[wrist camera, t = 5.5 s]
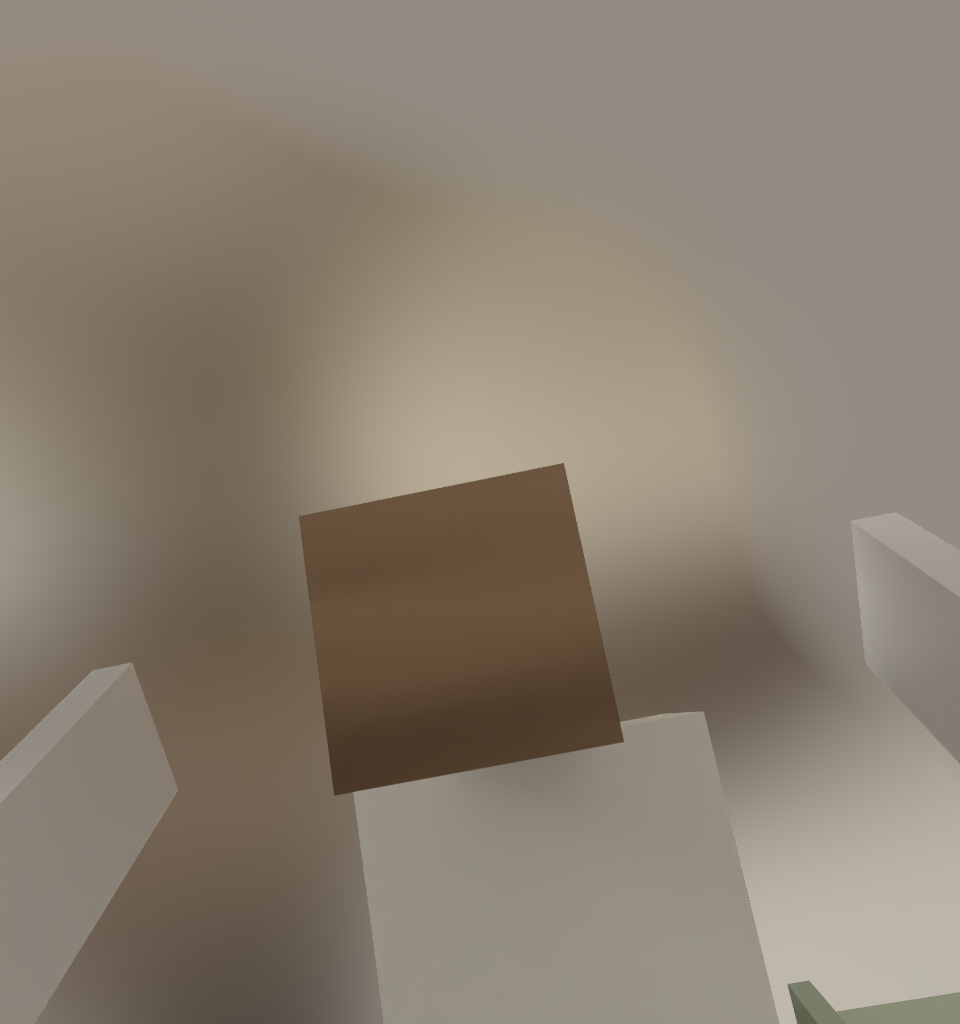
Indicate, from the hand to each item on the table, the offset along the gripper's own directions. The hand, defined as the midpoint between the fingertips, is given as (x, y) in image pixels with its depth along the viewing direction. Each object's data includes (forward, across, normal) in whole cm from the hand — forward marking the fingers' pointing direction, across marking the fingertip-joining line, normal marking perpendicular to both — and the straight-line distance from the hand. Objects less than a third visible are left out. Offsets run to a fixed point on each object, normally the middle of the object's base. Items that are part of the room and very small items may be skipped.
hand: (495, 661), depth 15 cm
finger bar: (+7, -1, -6) cm, 10 cm away
